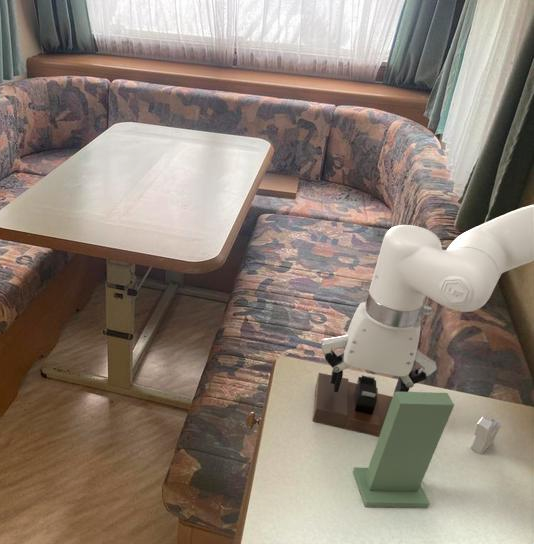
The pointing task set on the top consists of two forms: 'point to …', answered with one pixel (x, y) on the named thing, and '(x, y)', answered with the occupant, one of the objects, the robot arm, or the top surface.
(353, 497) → the top surface
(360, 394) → the clip
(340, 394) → the brown stepped wooden block
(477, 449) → the white blocky piece
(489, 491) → the top surface
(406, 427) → the stand
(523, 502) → the top surface
